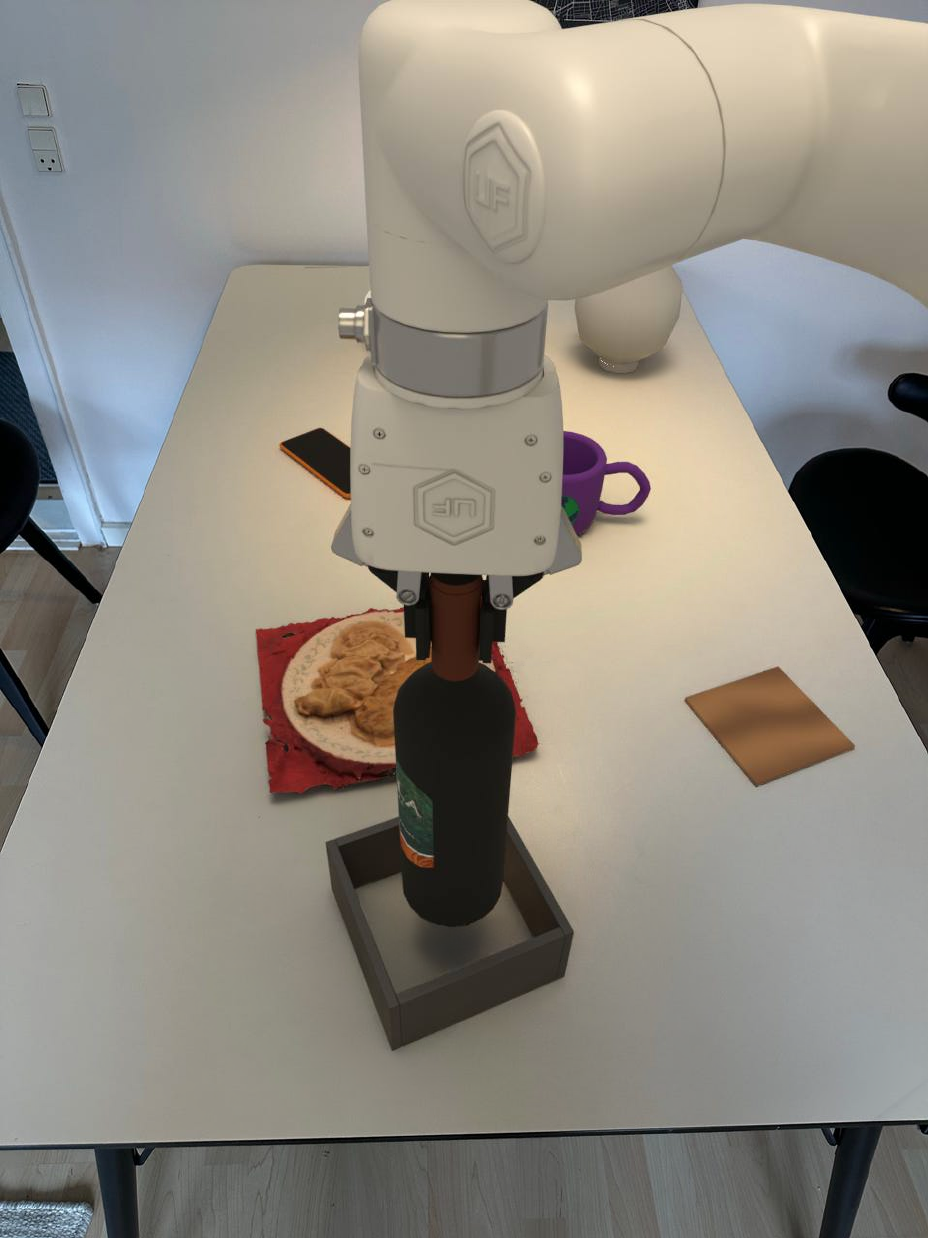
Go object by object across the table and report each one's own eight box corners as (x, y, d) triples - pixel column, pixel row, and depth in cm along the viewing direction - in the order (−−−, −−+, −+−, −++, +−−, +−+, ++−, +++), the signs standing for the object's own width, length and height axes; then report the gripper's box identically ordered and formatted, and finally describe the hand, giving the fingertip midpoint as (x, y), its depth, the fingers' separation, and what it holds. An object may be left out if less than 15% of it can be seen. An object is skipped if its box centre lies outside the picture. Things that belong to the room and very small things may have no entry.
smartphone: (346, 500, 118) (346, 495, 118) (278, 448, 127) (277, 442, 127) (392, 480, 122) (392, 475, 122) (322, 430, 131) (322, 425, 131)
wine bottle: (484, 941, 64) (503, 630, 44) (386, 909, 66) (362, 596, 46) (514, 855, 70) (543, 543, 50) (423, 827, 71) (415, 516, 51)
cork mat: (854, 749, 89) (855, 745, 89) (755, 787, 86) (757, 783, 85) (777, 669, 97) (778, 665, 97) (684, 700, 94) (685, 697, 93)
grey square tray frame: (565, 976, 71) (574, 931, 67) (391, 1051, 67) (388, 1009, 62) (487, 832, 81) (491, 784, 76) (331, 889, 77) (325, 841, 72)
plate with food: (539, 761, 87) (543, 737, 85) (270, 802, 82) (267, 778, 80) (480, 605, 105) (482, 582, 103) (255, 630, 100) (252, 607, 97)
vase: (656, 341, 156) (687, 167, 137) (679, 387, 144) (717, 203, 125) (561, 342, 155) (579, 166, 136) (576, 388, 143) (598, 202, 124)
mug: (508, 543, 113) (513, 475, 106) (510, 491, 121) (515, 425, 114) (647, 551, 112) (661, 484, 105) (640, 499, 121) (652, 433, 114)
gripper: (254, 370, 37) (301, 685, 49) (655, 386, 36) (602, 700, 49) (290, 297, 42) (325, 596, 55) (638, 310, 42) (594, 609, 54)
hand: (455, 642), depth 51 cm, fingers closed on wine bottle, 2 cm apart
